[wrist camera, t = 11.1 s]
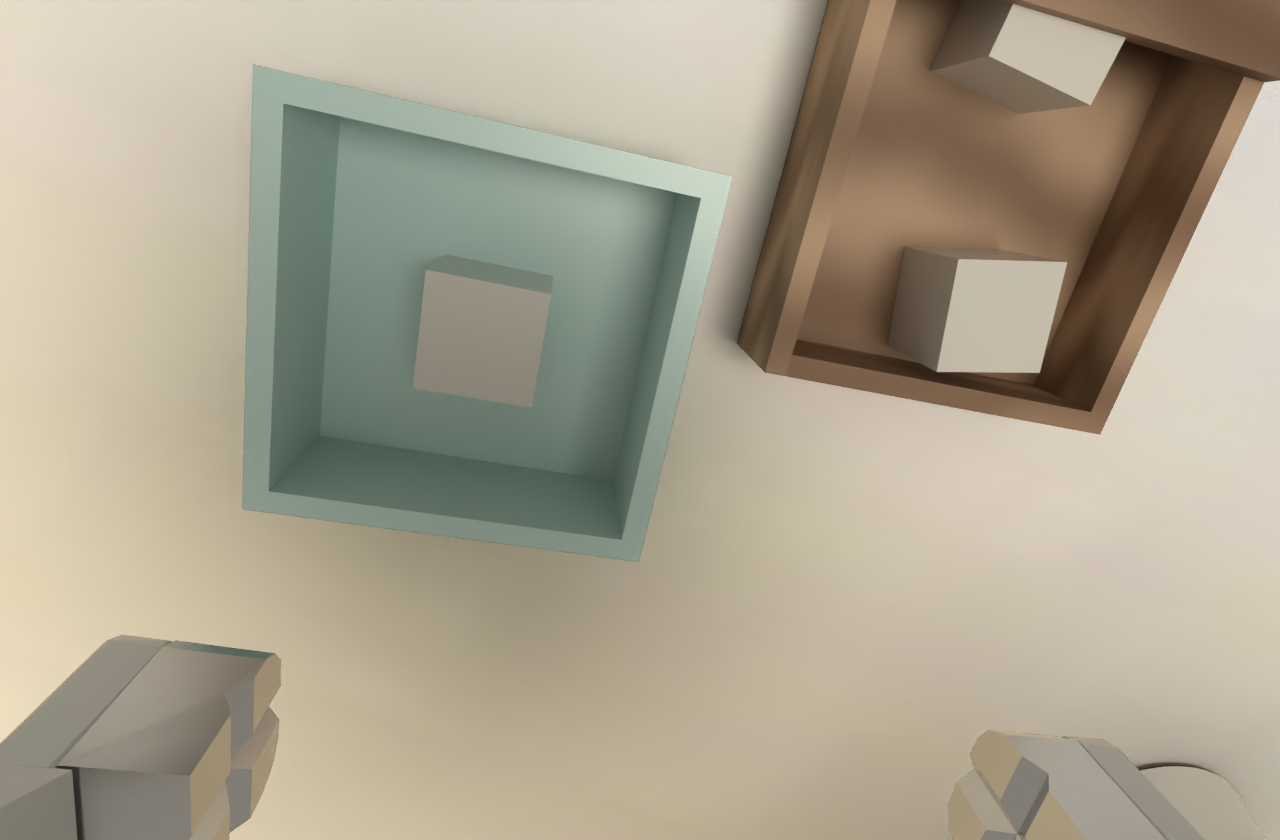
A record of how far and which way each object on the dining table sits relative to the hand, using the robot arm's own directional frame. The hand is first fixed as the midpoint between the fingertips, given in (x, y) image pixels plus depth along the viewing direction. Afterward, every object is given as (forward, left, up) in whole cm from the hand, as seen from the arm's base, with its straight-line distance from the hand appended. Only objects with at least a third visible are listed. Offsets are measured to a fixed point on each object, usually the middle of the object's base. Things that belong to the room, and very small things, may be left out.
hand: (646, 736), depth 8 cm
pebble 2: (+4, -14, -20) cm, 25 cm away
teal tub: (0, +4, -21) cm, 22 cm away
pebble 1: (+14, -13, -21) cm, 28 cm away
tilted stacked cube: (0, +4, -20) cm, 21 cm away
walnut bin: (+9, -13, -21) cm, 26 cm away
